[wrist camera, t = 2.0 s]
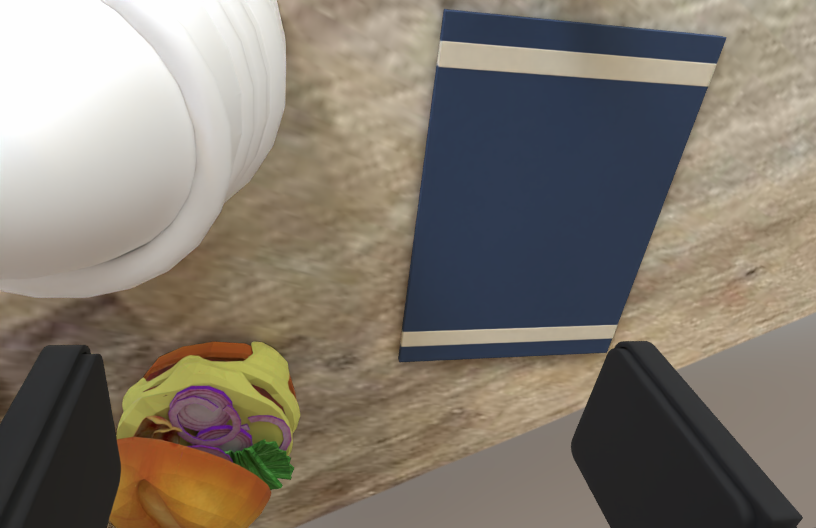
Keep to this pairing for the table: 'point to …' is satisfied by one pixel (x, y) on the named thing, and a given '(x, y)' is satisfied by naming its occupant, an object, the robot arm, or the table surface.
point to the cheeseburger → (205, 438)
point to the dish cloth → (544, 180)
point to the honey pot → (127, 133)
